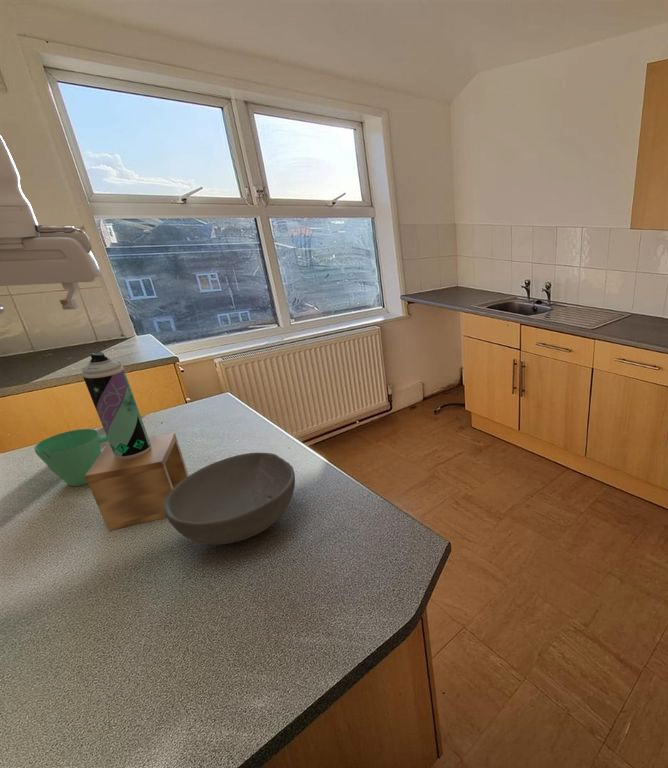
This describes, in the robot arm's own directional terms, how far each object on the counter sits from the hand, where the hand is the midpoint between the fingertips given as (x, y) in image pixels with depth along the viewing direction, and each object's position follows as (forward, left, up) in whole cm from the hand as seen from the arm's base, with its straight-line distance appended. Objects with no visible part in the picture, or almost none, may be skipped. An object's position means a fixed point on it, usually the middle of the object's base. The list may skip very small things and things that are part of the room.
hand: (34, 311), depth 74 cm
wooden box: (+8, -6, -39) cm, 40 cm away
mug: (-5, +11, -39) cm, 41 cm away
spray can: (+8, -6, -27) cm, 29 cm away
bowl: (+25, -21, -39) cm, 51 cm away
